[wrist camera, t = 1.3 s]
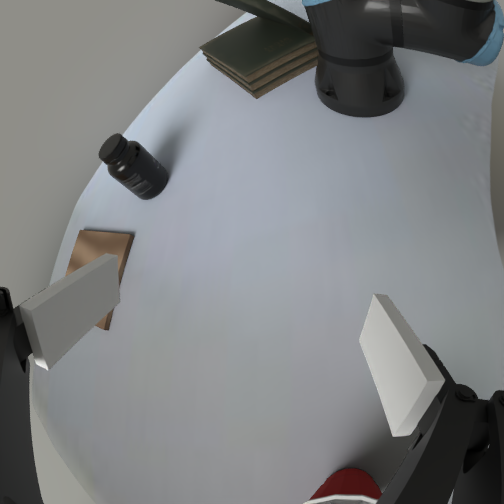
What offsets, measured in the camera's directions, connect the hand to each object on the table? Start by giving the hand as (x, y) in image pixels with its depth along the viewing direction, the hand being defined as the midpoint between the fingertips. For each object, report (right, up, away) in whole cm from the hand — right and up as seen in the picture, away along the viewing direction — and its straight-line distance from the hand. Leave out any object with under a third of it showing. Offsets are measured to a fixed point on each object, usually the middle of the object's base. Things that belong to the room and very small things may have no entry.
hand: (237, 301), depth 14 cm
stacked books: (+4, +43, +38) cm, 58 cm away
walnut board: (-28, -2, +32) cm, 42 cm away
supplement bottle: (-17, +14, +34) cm, 40 cm away
